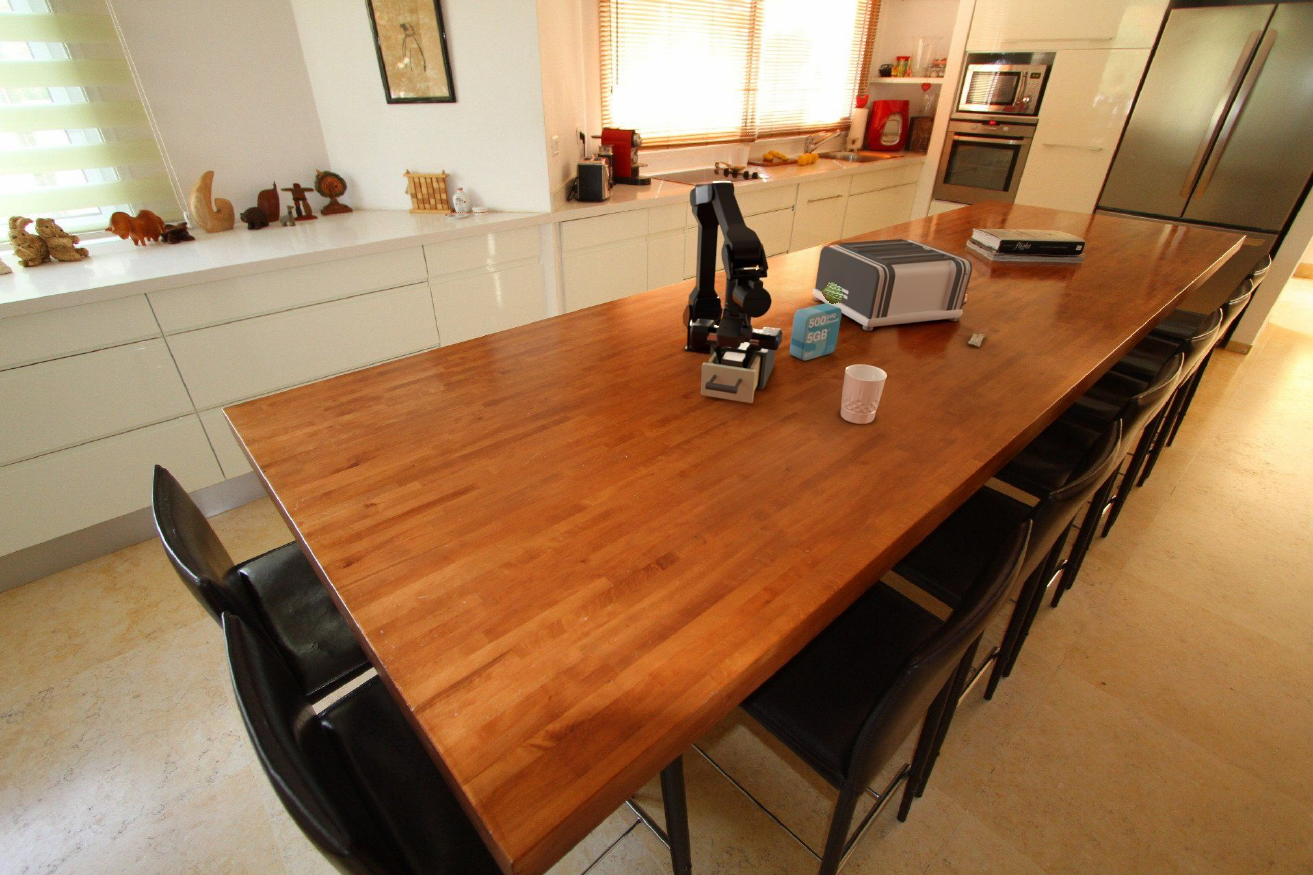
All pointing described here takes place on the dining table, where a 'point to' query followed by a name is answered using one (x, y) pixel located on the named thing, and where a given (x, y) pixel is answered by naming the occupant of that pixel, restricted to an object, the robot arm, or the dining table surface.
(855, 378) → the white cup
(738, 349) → the cabinet
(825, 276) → the toaster
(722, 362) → the block
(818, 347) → the data package
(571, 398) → the dining table surface
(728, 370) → the drawer
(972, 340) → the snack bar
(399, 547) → the dining table surface
